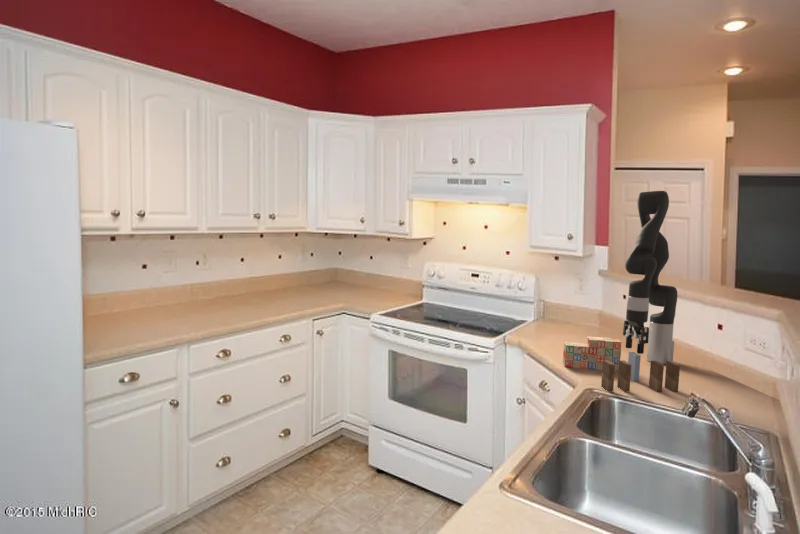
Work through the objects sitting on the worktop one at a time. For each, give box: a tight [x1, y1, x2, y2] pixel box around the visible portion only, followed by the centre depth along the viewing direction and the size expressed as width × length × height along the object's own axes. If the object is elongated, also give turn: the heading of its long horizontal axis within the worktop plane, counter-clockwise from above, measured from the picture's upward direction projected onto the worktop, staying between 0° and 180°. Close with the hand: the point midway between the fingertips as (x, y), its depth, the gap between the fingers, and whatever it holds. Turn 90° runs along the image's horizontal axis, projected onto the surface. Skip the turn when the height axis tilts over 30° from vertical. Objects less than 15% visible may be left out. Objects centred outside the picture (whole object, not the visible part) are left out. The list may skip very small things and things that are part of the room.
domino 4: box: [664, 360, 681, 393], centre depth 191 cm, size 2×5×10 cm, turn 5°
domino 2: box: [627, 351, 642, 382], centre depth 202 cm, size 2×5×10 cm, turn 5°
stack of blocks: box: [562, 336, 622, 372], centre depth 218 cm, size 21×6×12 cm, turn 79°
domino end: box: [600, 360, 616, 392], centre depth 189 cm, size 2×5×10 cm, turn 5°
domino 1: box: [616, 359, 631, 392], centre depth 190 cm, size 2×5×10 cm, turn 5°
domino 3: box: [648, 361, 665, 393], centre depth 191 cm, size 2×5×10 cm, turn 5°
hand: (634, 350), depth 202 cm, fingers open, 8 cm apart
